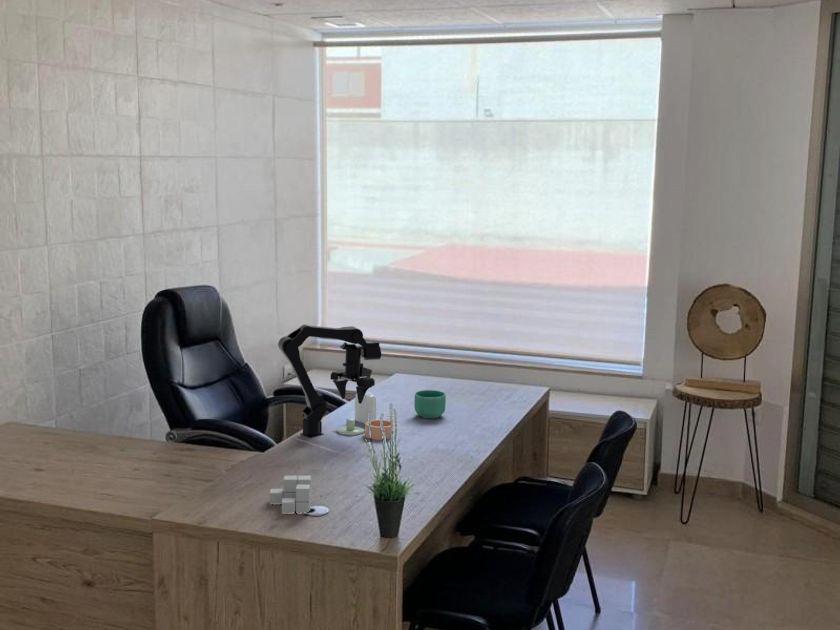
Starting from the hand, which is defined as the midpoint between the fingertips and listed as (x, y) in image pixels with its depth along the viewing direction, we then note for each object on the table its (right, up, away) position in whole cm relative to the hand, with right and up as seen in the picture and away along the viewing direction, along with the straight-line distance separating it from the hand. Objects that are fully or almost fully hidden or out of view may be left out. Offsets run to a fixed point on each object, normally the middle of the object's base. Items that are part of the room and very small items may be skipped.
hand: (351, 401), depth 357 cm
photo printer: (+4, -10, +15) cm, 19 cm away
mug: (+30, -9, +29) cm, 43 cm away
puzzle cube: (-13, -24, -79) cm, 84 cm away
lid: (-1, -12, 0) cm, 12 cm away
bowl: (+11, -13, -3) cm, 17 cm away
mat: (-1, -12, +1) cm, 12 cm away
